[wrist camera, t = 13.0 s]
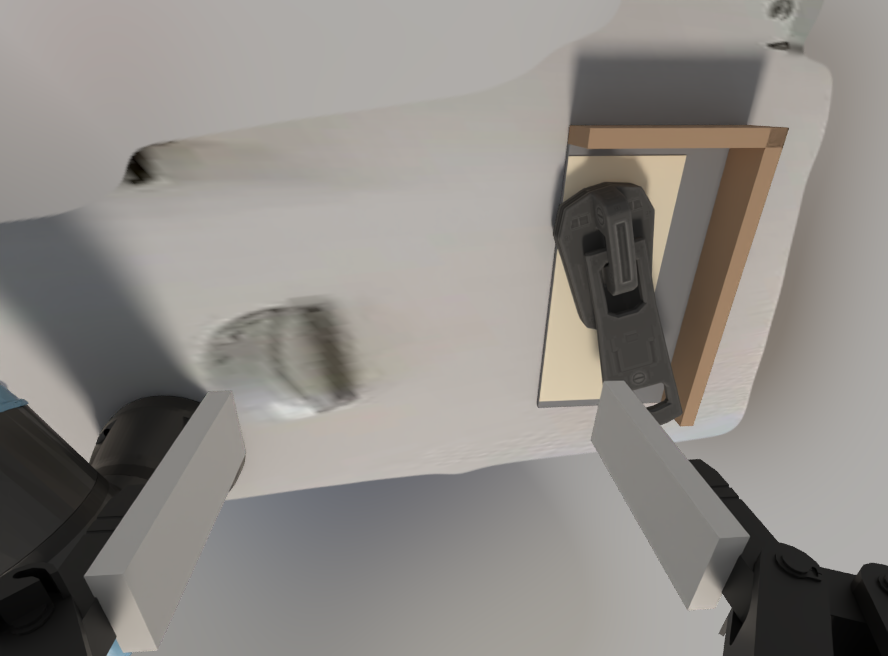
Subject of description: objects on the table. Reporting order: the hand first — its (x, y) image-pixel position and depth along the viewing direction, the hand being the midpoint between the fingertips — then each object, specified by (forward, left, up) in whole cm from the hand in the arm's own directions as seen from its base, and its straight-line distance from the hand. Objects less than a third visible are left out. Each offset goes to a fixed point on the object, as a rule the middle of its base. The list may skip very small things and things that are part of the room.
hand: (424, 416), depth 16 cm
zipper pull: (+20, -9, -29) cm, 36 cm away
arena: (+22, -8, -30) cm, 38 cm away
